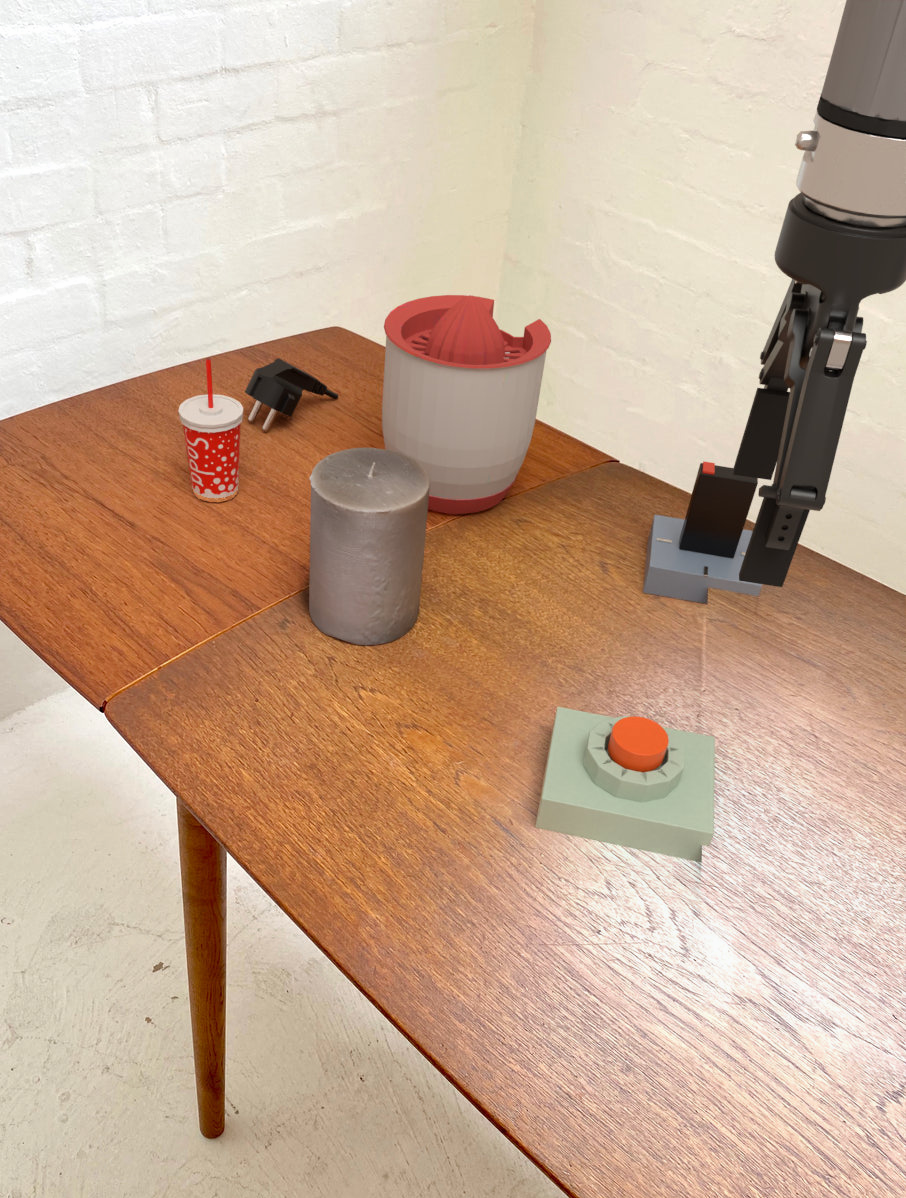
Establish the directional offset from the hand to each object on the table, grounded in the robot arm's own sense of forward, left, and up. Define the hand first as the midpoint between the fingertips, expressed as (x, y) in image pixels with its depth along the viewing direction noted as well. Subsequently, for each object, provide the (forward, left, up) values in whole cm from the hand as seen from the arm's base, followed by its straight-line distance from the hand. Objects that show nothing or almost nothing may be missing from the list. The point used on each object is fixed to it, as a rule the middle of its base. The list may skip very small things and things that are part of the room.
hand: (755, 524), depth 76 cm
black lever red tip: (0, -22, -16) cm, 27 cm away
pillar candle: (+29, -7, -19) cm, 35 cm away
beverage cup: (+48, -22, -19) cm, 56 cm away
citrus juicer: (+25, -31, -19) cm, 44 cm away
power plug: (+45, -40, -19) cm, 63 cm away
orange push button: (+5, +9, -14) cm, 18 cm away
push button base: (+5, +9, -19) cm, 22 cm away
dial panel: (0, -22, -19) cm, 29 cm away
